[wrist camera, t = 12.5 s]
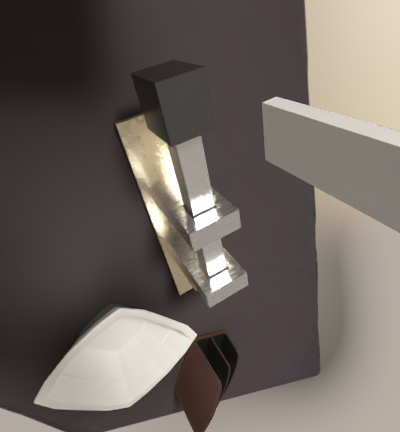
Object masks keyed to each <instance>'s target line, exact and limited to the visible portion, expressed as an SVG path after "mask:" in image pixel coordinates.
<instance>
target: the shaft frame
mask: <svg viewBox="0 0 400 432" xmlns="http://www.w3.org/2000/svg"><path fill="white" fill-rule="evenodd" d="M114 124H115V126H116V129H117V132H118V134H119V137H120V140H121V142H122V145H123V148H124V150H125V153H126V156H127V158H128V161H129V164H130V166H131V169H132V172H133V174H134V177H135V180H136V182H137V185H138V187H139V190H140V193H141V195H142V198H143V201H144V203H145V206H146V209H147V211H148V214H149V217H150V219H151V222H152V225H153V227H154V230H155V233H156V235H157V238H158V240H159V243H160V246H161V248H162V251H163V254H164V256H165V259H166V262H167V264H168V267H169V270H170V272H171V275H172V278H173V280H174V283H175V286H176V288H177V291H178V293H179V295H181V294H183V293H185V292H187V291H188V290H190V289H192V288H193V287H192V285H191V284H190V282H189V281H188V279H187V278H186V276H185V275H184V273H183V272H182V271H181V269H180V268H179V266H178V264H177V261H178V263H179V264H180V266H181V267H182V268H183V270H184V271H185V273H186V274H187V276H188V277H189V279H190V280H191V282H192V283H193V284H194V286H195V287H196V289H197V290H198V292H199V293H200V295H201V296H202V297H203V299H204V300H205V302H206V303H207V305H208V306H209V308H210V307H212V306H214V305H215V304H217V303H219V302H220V301H222V300H224V299H225V298H227V297H229V296H230V295H232V294H234V293H235V292H237V291H239V290H240V289H242V288H244V287H246V286H247V285H248V279H247V272H246V271H245V270H244V269H243V268H242V267H241V266H240V265H239V264H238V263H237V262H236V260H235V259H234V258H233V257H232V256H231V255H230V254H229V253H228V252H227V251H226V250H225V249H224V248H223V247H222V248H223V253H224V259H225V264H226V269H227V270H226V271H224V272H222V273H220V274H219V275H217V276H215V277H213V278H212V279H210V280H208V278H207V277H206V276H205V274H204V273H203V271H202V270H201V267H200V263H199V259H198V256H197V252H196V251H197V250H199V249H201V248H203V247H205V246H207V245H209V244H211V243H212V242H214V241H216V240H218V239H220V238H222V237H224V236H226V235H228V234H230V233H231V232H233V231H235V230H237V229H239V228H241V224H240V216H239V209H238V208H236V207H235V206H234V205H233V204H231V203H230V202H229V201H228V200H227V199H225V198H224V197H223V196H222V195H220V194H219V193H218V192H217V191H216V190H214V189H213V188H212V187H211V191H212V196H213V201H214V206H215V209H213V210H211V211H208V212H206V213H204V214H202V215H200V216H198V217H196V218H194V219H193V218H192V217H191V216H190V215H189V214H188V213H187V212H186V211H185V208H184V204H183V201H182V197H181V193H180V190H179V186H178V183H177V179H176V175H175V172H174V168H173V164H172V161H171V157H170V153H169V150H168V146H167V143H166V142H164V141H163V140H162V139H160V138H159V137H158V136H156V135H155V134H154V133H153V132H151V131H150V130H149V129H148V128H147V125H146V122H145V118H144V115H143V112H142V113H140V114H137V115H134V116H131V117H128V118H126V119H123V120H120V121H117V122H114ZM176 260H177V261H176Z"/></svg>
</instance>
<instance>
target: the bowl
mask: <svg viewBox="0 0 400 432" xmlns="http://www.w3.org/2000/svg"><path fill="white" fill-rule="evenodd" d="M196 336H197V334H196V333H195V332H194V331H193V330H192V329H191V328H190V327H188V326H187V325H185V324H183V323H180V322H177V321H175V320H172V319H170V318H167V317H164V316H161V315H158V314H155V313H153V312H150V311H147V310H142V309H134V308H131V307H128V306H125V305H122V304H113V303H111V304H109V305H108V306H106V307H105V308H104V309H102V310H101V311H100V312H99V313H98V314H97V315H96V316H95V317H94V318H92V319H91V320H90V321H89V322H88V324H87V325H86V326H85V328H84V329H83V330H82V331H81V333H80V334H79V336H78V337H77V339H76V341H75V342H74V344H73V345H72V347H71V349H70V350H69V351H68V352H67V354H66V355H65V356H64V357H63V359H62V360H61V361H60V362H59V364H58V365H57V366H56V368H55V369H54V370H53V371H52V373H51V374H50V375H49V376H48V378H47V379H46V380H45V382H44V384H43V385H42V387H41V389H40V391H39V393H38V394H37V396H36V398H35V400H34V403H35V404H38V405H42V406H45V407H49V408H52V409H65V410H105V411H109V410H115V409H121V408H127V407H130V406H132V405H133V404H134V403H135V402H136V401H138V400H139V399H140V398H141V397H143V396H144V395H145V394H146V393H147V392H149V391H150V390H151V389H152V388H153V387H154V386H155V385H156V384H157V383H158V382H159V381H160V380H161V379H162V378H163V377H164V376H165V375H166V374H167V373H168V372H169V371H170V370H171V369H172V368H173V366H174V365H175V364H176V363H177V362H178V361H179V359H180V358H181V357H182V356H183V355H184V353H185V352H186V351H187V349H188V348H189V347H190V345H191V344H192V342H193V341H194V339H195V338H196Z"/></svg>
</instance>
